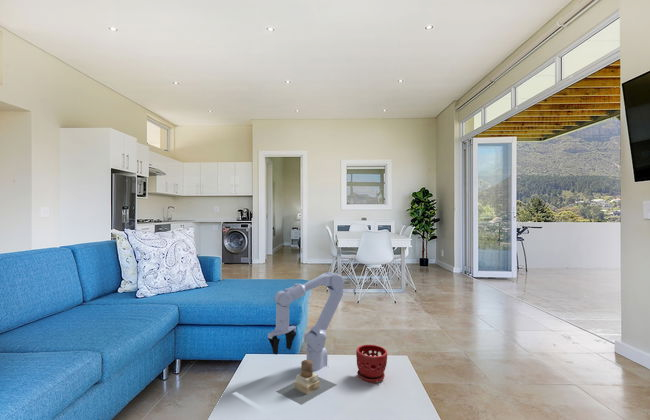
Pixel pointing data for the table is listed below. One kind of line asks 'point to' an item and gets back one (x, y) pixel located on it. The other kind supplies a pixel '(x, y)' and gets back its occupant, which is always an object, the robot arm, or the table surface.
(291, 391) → the grey base plate
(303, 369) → the walnut cylinder
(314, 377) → the birch top block
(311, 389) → the oak bottom block
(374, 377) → the plant pot
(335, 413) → the table surface
